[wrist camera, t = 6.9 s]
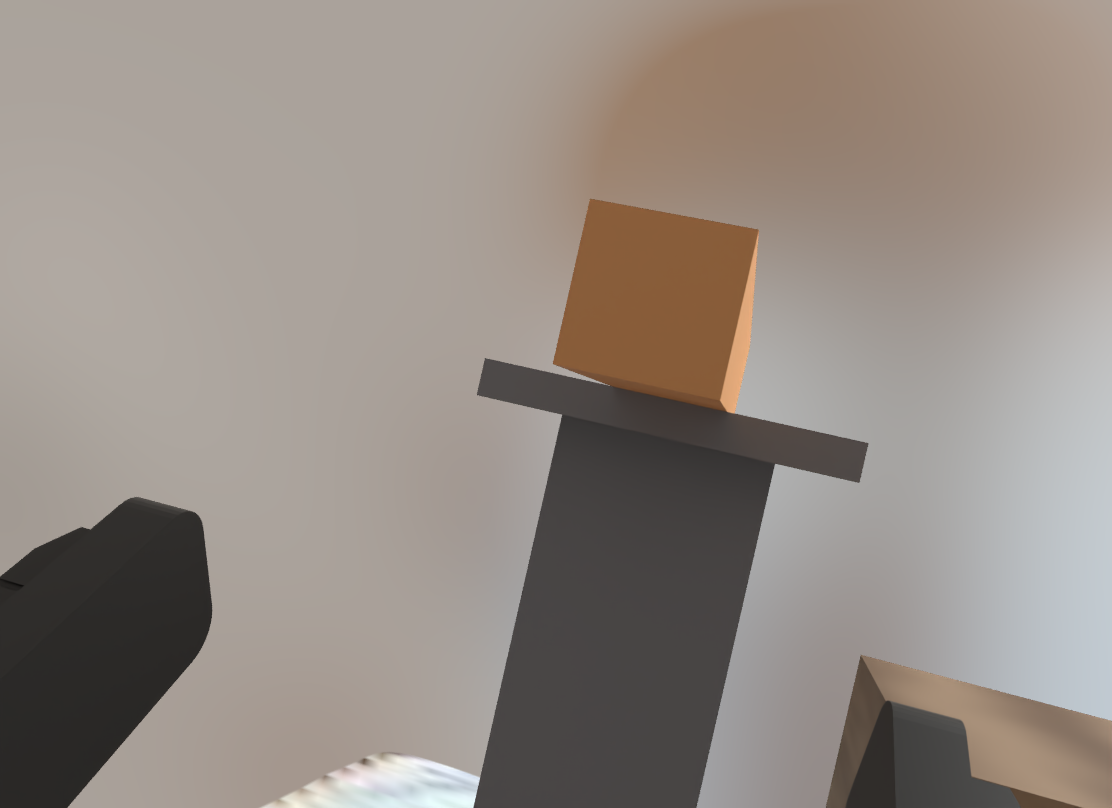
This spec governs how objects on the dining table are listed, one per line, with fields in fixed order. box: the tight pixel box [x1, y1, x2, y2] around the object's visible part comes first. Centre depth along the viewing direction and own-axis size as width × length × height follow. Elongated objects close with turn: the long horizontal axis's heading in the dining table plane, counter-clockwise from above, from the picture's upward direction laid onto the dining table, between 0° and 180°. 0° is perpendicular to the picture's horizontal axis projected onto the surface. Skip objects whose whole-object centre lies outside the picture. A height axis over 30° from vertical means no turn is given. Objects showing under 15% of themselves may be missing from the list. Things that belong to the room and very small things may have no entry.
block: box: [553, 199, 759, 414], centre depth 28 cm, size 3×22×3 cm, turn 169°
